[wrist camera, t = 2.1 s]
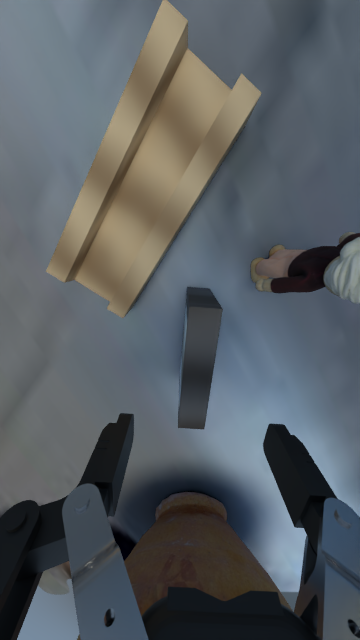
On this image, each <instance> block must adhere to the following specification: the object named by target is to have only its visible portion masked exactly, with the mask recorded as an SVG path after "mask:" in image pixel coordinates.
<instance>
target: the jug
mask: <svg viewBox="0 0 360 640" xmlns="http://www.w3.org/2000/svg"><path fill="white" fill-rule="evenodd" d="M155 517H156V522H155V523H154V524H153V526H152V527H151V528H150V529H149V530H148V531H147V532H146V533H145V534H144V535H143V536H142V538H141V539H140V540H139V542H138V543H137V545H136V546H135V547H134V549H133V550H132V552H131V553H130V555H129V556H128V557H127V559H126V560H125V561H124V564H125V567H126V570H127V573H128V577H129V580H130V583H131V586H132V589H133V592H134V595H135V599H136V602H137V605H138V608H139V611H140V614H141V616H142V615H143V614H144V612H145V611H146V610H147V609H148V608H149V607H150V606H151V605H152V604H154V603H155V602H156V601H158V600H160V599H161V598H164V597H166V596H167V592H168V587H188V588H197V589H199V590H201V591H203V592H205V593H207V594H209V595H211V596H213V597H216V598H218V599H220V600H222V601H228V600H230V599H232V598H235V597H237V596H239V595H242V594H244V593H246V592H249V591H271V592H278V596H279V599H280V603H281V604H283V605H284V606H286V607H287V608H289V609H290V610H292V609H291V608H290V606H289V604H288V603H287V601H286V600H285V598H284V597H283V595H282V594H281V592H280V591H279V589H278V588H277V586H276V585H275V584H274V582H273V581H272V579H271V578H270V576H269V575H268V573H267V572H266V571H265V570H264V568H263V567H262V566H261V565H260V563H259V562H258V561H257V559H256V558H255V557H254V555H253V554H252V553H251V552H250V550H249V549H248V548H247V547H246V545H245V544H244V543H243V542H242V541H241V539H240V538H239V537H238V535H237V534H236V533H235V531H234V530H233V529H232V527H231V526H230V525H229V524H228V523H227V522H226V520H227V512H226V509H225V507H224V505H223V504H222V502H219V501H218V500H216V499H214V498H212V497H209V496H207V495H205V494H201V493H196V492H183V493H177V494H173V495H170V496H169V497H168V498H167V499H164V500H162V502H161V503H160V505H159V506H158V507H157V508H156V513H155ZM77 640H81V639H80V634H79V636H78V639H77Z"/></svg>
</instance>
